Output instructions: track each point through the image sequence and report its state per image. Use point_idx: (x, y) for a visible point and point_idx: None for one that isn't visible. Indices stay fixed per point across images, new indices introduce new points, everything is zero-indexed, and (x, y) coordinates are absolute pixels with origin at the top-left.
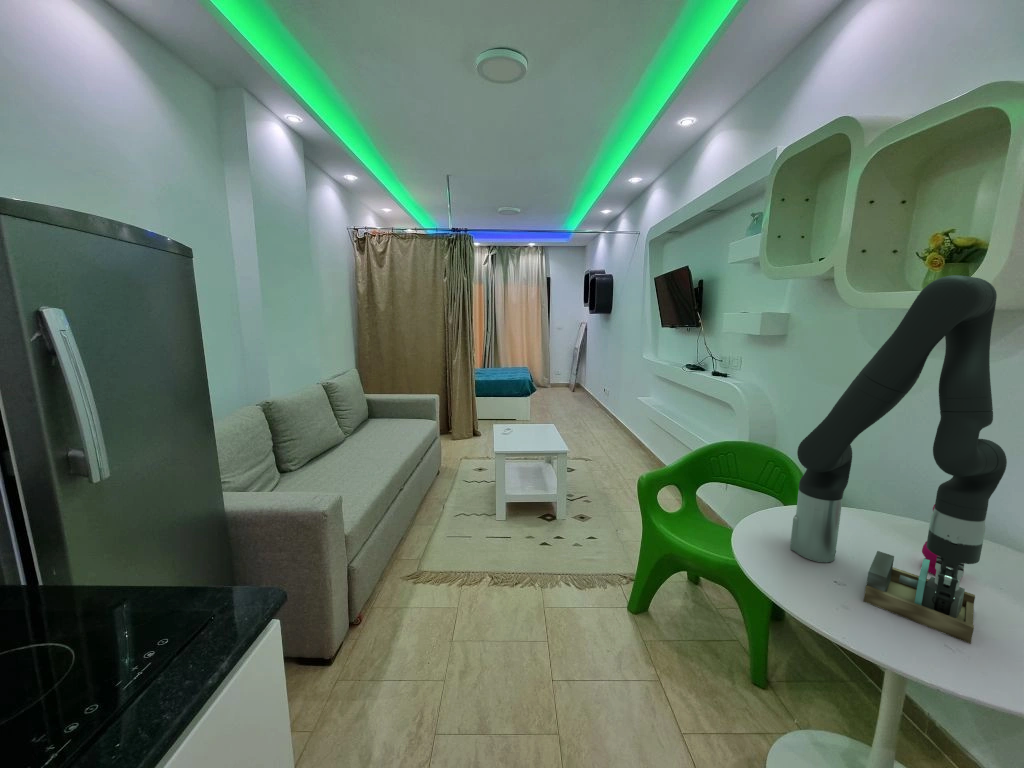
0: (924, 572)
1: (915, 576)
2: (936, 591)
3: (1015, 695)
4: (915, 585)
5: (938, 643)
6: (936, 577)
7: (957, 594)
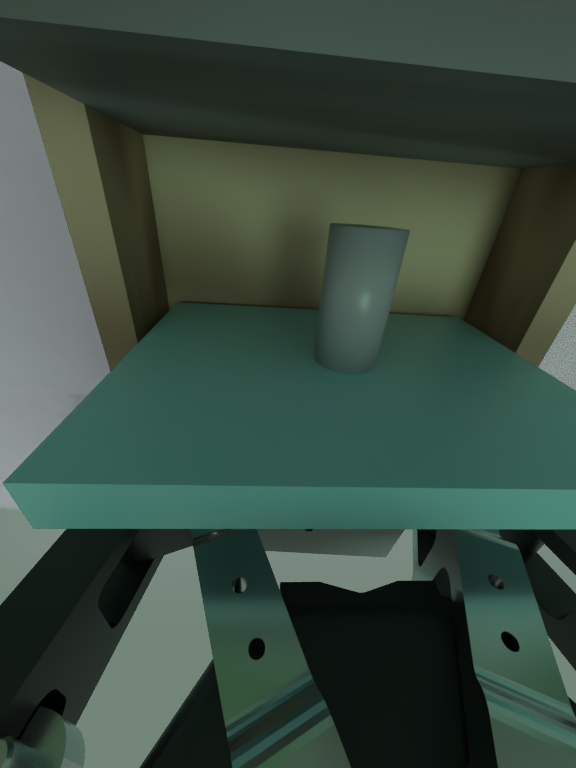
0: (306, 511)
1: (537, 323)
2: (59, 537)
3: (18, 508)
4: (318, 343)
5: (68, 381)
6: (208, 606)
7: (280, 542)
